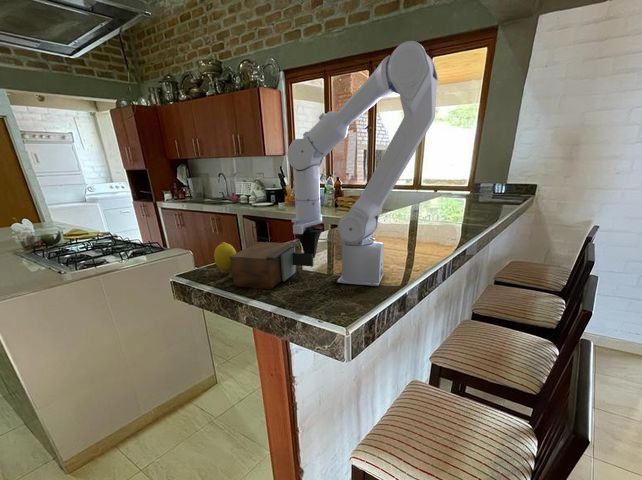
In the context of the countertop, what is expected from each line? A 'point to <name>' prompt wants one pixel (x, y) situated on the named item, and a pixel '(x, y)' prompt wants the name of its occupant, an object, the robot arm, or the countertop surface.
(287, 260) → the sliding door
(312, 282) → the countertop surface
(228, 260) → the lemon
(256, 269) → the cabinet
